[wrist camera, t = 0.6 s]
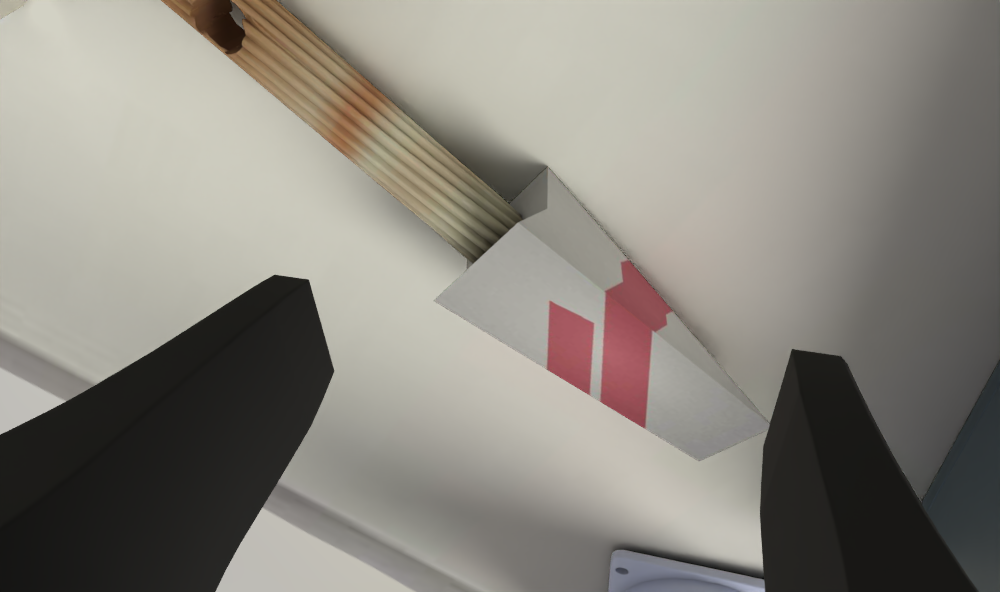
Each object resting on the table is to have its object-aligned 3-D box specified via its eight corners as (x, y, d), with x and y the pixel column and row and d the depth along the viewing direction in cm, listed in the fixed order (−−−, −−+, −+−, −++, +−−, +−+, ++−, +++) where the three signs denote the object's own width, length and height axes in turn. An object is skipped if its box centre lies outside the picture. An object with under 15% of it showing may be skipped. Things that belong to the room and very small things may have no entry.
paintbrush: (679, 505, 22) (109, 30, 17) (689, 437, 24) (180, -4, 19) (789, 462, 19) (155, -104, 15) (789, 390, 21) (232, -126, 17)
